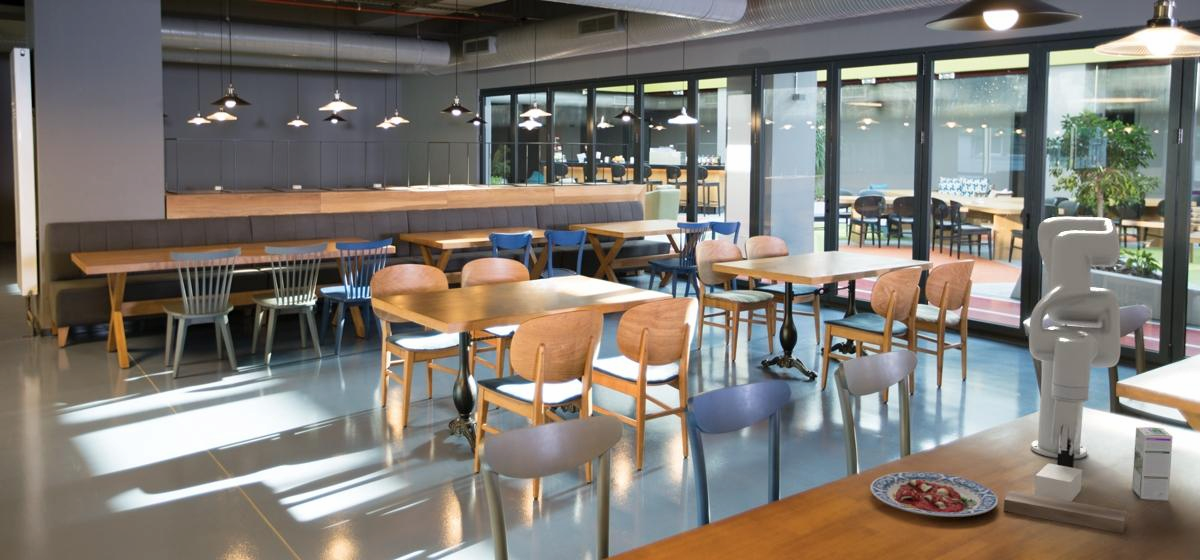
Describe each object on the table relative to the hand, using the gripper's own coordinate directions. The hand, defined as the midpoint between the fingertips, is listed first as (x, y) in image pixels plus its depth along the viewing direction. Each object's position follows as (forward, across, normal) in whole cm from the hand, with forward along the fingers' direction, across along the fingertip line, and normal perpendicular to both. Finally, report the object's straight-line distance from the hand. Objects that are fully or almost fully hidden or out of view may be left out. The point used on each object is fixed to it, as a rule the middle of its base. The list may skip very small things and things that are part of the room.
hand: (1065, 470), depth 218 cm
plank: (+2, +24, +3) cm, 24 cm away
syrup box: (+2, +1, +17) cm, 17 cm away
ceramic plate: (+3, +29, -22) cm, 37 cm away
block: (+3, +10, 0) cm, 11 cm away
